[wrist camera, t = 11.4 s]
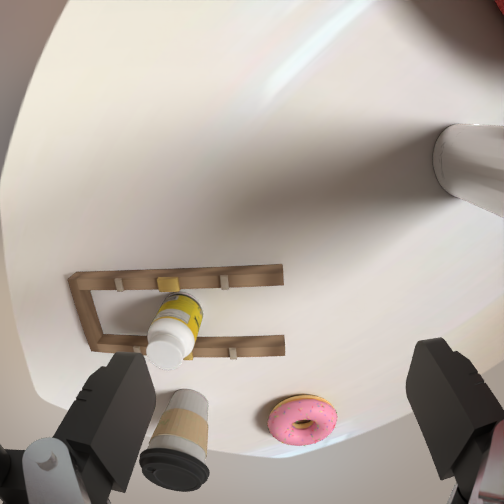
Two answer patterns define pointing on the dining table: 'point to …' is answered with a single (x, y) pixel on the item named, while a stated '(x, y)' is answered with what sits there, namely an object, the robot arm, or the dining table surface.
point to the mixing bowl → (500, 5)
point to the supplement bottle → (174, 331)
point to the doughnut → (302, 410)
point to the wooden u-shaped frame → (173, 283)
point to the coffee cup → (179, 444)
